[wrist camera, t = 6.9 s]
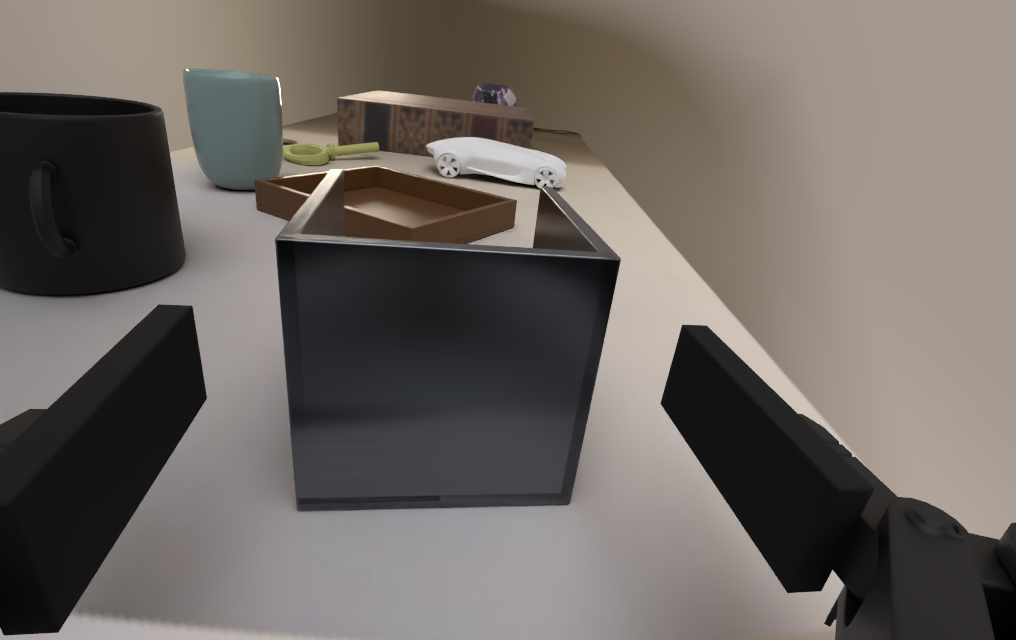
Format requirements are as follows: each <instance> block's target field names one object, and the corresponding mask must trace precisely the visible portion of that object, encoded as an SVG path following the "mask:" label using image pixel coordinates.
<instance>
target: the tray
mask: <svg viewBox="0 0 1016 640" xmlns="http://www.w3.org/2000/svg"><path fill="white" fill-rule="evenodd" d="M343 170H344V201H345V237H355V238H372V239H388V240H405V241H422V242H438V243H455V244H466V243H469V242H472V241H475V240H478V239H480V238H483V237H486V236H489V235H492V234H495V233H498V232H501V231H504V230H507V229H510V228H513V227H514V221H515V212H516V204H517V200H513V199H509V198H505V197H501V196H497V195H493V194H489V193H485V192H481V191H477V190H473V189H469V188H465V187H461V186H457V185H453V184H449V183H445V182H441V181H437V180H433V179H429V178H425V177H421V176H417V175H413V174H409V173H405V172H401V171H397V170H393V169H389V168H385V167H380V166H377V165H376V166H368V167H359V168H351V169H343ZM328 172H329V171H326V172H318V173H309V174H301V175H293V176H284V177H276V178H268V179H259V180H254V183H255V193H256V203H257V204H256V205H257V210H260V211H263V212H266V213H269V214H272V215H275V216H278V217H281V218H284V219H287V220H289V221H290V220H291V218H292V217H293V216H294V215H295V213H296V212H297V211H298V210H299V208H300V207H301V206H302V205H303V203H304V202H305V201H306V200H307V199H308V197H309V196H310V195H311V194H312V192H313V191H314V190H315V189H316V187H317V186H318V185H319V184H320V182H321V181H322V180H323V179H324V177H325V176H326V175H327V174H328Z"/></svg>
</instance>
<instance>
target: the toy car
mask: <svg viewBox="0 0 1016 640" xmlns="http://www.w3.org/2000/svg"><path fill="white" fill-rule="evenodd" d="M426 147H427V151H428V152H429V153H430V154H432V155H434V162H435V164H436V167H437V168H438V170H439V172H440V173H441V175H443V176H444V177H447V178H452V177H454V176H456V175H457V174H458V173H459V172H460V173H459V174H483V175H490V176H494V177H498V178H501V179H505V180H509V181H513V182H518V183H523V184H531V185H535V184H536V186H537V187H538V188H540V189H541V186H543V185H544V184H545V183H546V186H548V187H552V188H553V187H554V188H558V187H562V186H563V185H564V181H565V178H566V172H565V170H566V164H565V163H564V162H563V161H562V160H561V159H559V158H558V157H555V156H553V155H550V154H547V153H544V152H540V151H537V150H531V149H527V148H523V147H519V146H515V145H511V144H507V143H503V142H499V141H494V140H490V139H484V138H477V137H459V138H450V139H444V140H439V141H435V142H432V143H429V144H427V145H426ZM444 157H445V159H446V162H445V161H443V160H442V159H443V158H444ZM452 158H453V159H455V160H454V161H453V159H452ZM447 164H448V165H447ZM450 164H451V165H450ZM441 166H443V167H445V168H444V169H442V167H441ZM449 167H450V168H449ZM453 167H454V168H457V172H456V171H455V170H454V169H453ZM448 170H449V172H450V174H447V172H448ZM542 170H543V171H542ZM541 171H542V172H541ZM548 175H549V176H548ZM537 179H540V180H541V181H540V182H539V183H538V182H537ZM551 182H552V183H553V184H551ZM534 183H535V184H534Z"/></svg>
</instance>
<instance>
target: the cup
mask: <svg viewBox="0 0 1016 640" xmlns="http://www.w3.org/2000/svg"><path fill="white" fill-rule="evenodd" d="M183 81H184V90H185V97H186V105H187V111H188V118H189V124H190V130H191V136H192V141H193V145H194V149H195V153H196V156H197V159H198V162H199V165H200V167H201V169H202V171H203V173H204V174H205V175H206V177H207V178H208V179H209V180H210V181H211V182H212V183H214V184H216V185H217V186H220V187H223V188H227V189H233V190H255V183H254V180H259V179H268V178H276V177H278V175H279V173H280V169H281V165H282V156H283V125H282V109H281V95H280V85H279V80H278V78H277V77H273V76H269V75H262V74H255V73H246V72H236V71H226V70H213V69H184V71H183Z"/></svg>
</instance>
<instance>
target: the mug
mask: <svg viewBox="0 0 1016 640" xmlns="http://www.w3.org/2000/svg"><path fill="white" fill-rule="evenodd" d="M184 258H185V248H184V242H183V235H182V229H181V223H180V216H179V210H178V204H177V197H176V191H175V184H174V178H173V172H172V165H171V159H170V153H169V146H168V140H167V133H166V128H165V121H164V114H163V111H162V109H160V108H159V107H157V106H154V105H151V104H147V103H142V102H137V101H130V100H124V99H116V98H106V97H97V96H84V95H69V94H51V93H18V92H0V286H1V287H4V288H6V289H10V290H14V291H18V292H25V293H32V294H45V295H68V294H86V293H97V292H105V291H112V290H117V289H123V288H128V287H132V286H136V285H141V284H144V283H147V282H151V281H154V280H156V279H159V278H162V277H164V276H166V275H168V274H170V273H172V272H173V271H175V270H176V269H178V268H179V267H180V266H181V265H182V263H183V260H184Z"/></svg>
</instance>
